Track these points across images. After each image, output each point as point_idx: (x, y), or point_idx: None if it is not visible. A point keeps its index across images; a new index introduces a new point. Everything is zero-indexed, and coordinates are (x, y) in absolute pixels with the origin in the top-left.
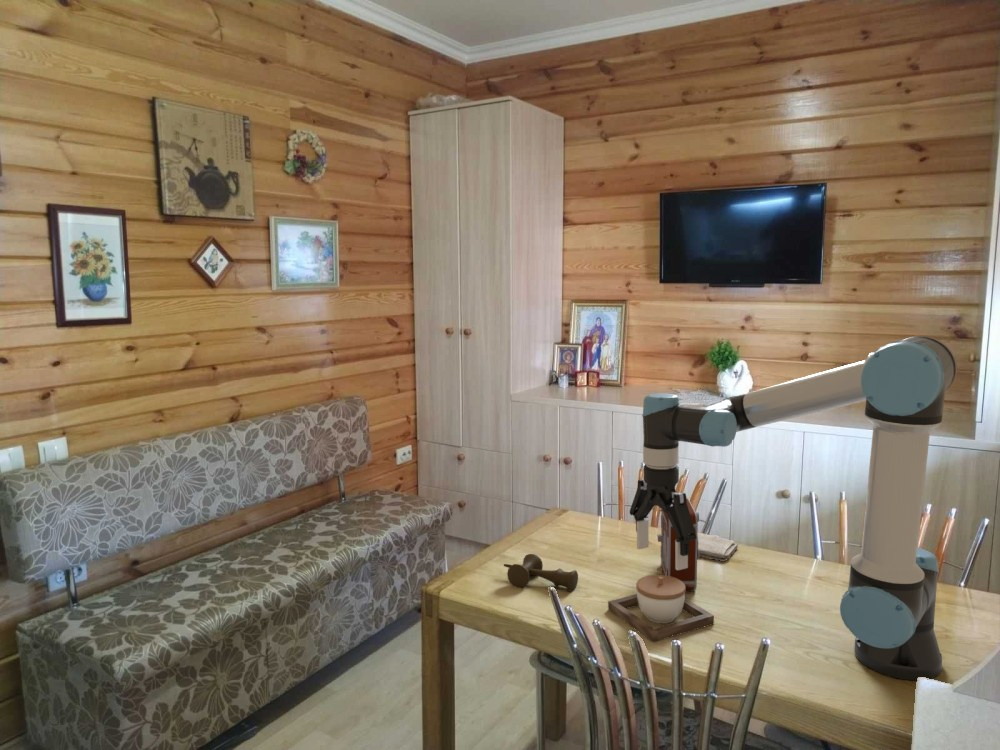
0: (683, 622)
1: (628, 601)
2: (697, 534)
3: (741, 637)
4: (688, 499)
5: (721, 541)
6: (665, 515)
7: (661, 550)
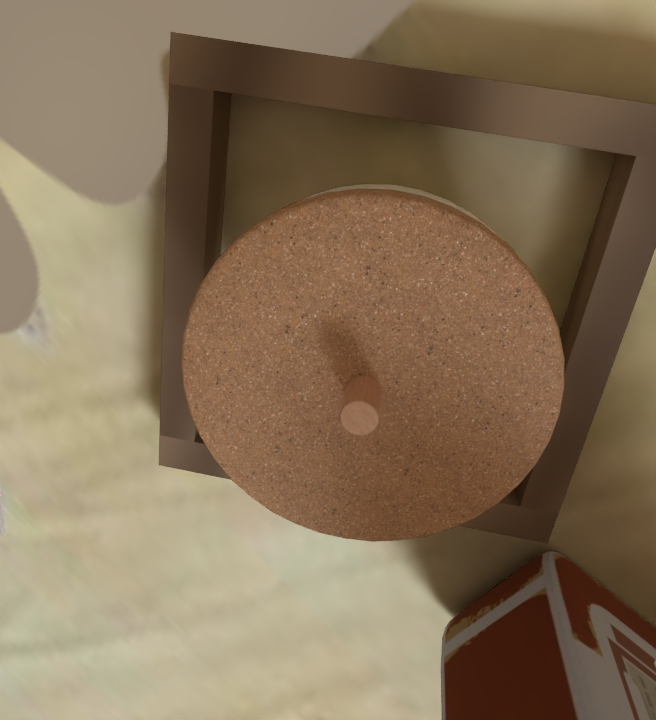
0: (181, 294)
1: (600, 248)
2: None
3: (31, 433)
4: None
5: None
6: None
7: None
